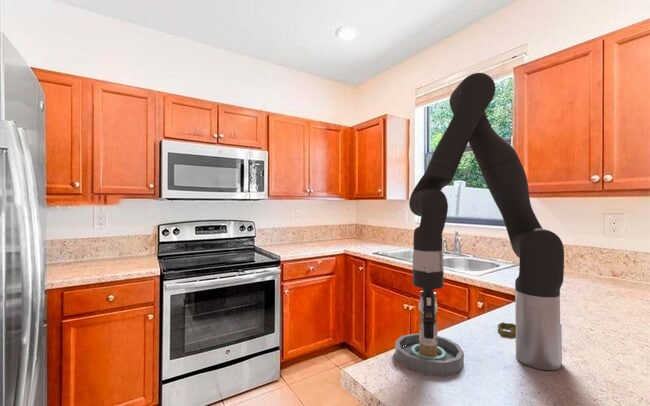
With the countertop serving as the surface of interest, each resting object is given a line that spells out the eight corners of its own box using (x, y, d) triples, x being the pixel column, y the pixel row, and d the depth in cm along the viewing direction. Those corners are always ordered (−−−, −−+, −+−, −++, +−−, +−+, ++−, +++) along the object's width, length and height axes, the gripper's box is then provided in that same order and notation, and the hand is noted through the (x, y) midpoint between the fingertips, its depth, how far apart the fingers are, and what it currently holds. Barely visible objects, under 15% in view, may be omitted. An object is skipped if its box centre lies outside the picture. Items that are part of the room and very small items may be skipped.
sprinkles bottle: (423, 349, 82) (423, 298, 82) (440, 355, 78) (440, 302, 78) (415, 355, 78) (415, 302, 78) (433, 361, 75) (432, 306, 75)
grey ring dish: (430, 340, 89) (430, 330, 89) (477, 367, 74) (477, 354, 74) (383, 350, 83) (383, 339, 83) (425, 381, 68) (425, 368, 68)
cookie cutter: (533, 348, 85) (533, 341, 85) (490, 333, 95) (490, 327, 95) (561, 334, 95) (561, 327, 95) (519, 321, 105) (519, 315, 105)
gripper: (412, 261, 87) (413, 319, 86) (412, 272, 73) (412, 341, 73) (441, 263, 84) (441, 322, 84) (446, 274, 71) (446, 345, 71)
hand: (428, 331), depth 79 cm, fingers open, 8 cm apart
